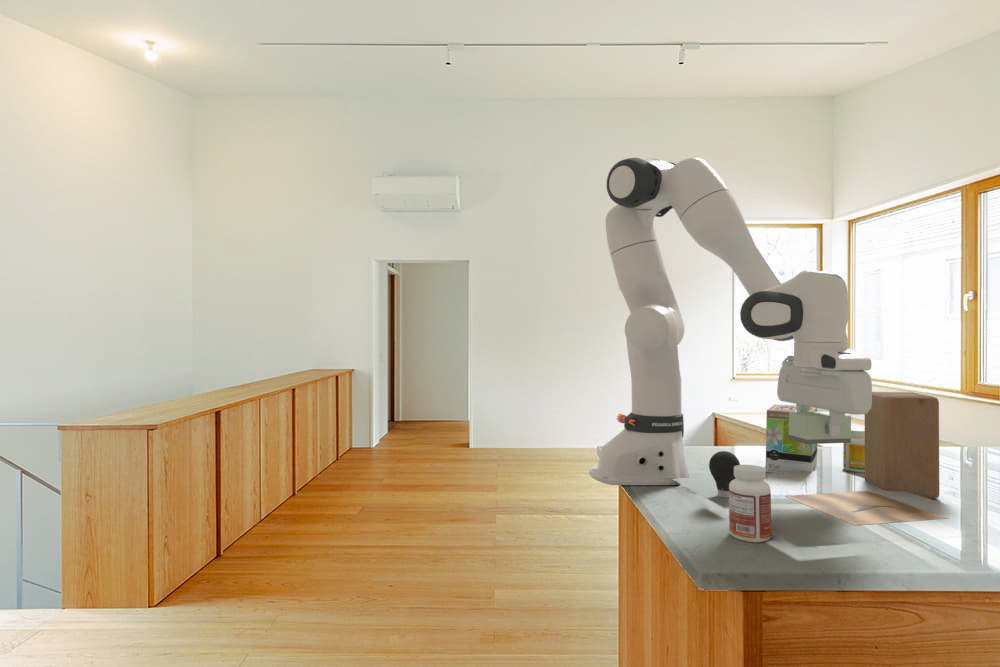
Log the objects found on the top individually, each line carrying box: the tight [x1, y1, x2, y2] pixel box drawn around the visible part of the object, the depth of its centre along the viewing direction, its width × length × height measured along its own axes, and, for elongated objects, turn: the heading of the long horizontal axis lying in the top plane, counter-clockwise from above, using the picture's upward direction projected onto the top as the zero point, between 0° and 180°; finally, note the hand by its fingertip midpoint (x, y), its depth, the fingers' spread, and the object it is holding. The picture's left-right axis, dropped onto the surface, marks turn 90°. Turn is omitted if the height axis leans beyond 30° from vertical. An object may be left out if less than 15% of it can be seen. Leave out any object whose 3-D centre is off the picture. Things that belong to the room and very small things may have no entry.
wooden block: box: [864, 391, 940, 500], centre depth 117 cm, size 10×10×20 cm
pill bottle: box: [728, 464, 772, 543], centre depth 92 cm, size 6×6×11 cm
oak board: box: [785, 490, 950, 526], centre depth 103 cm, size 18×17×2 cm
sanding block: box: [789, 411, 852, 445], centre depth 107 cm, size 9×5×5 cm, turn 100°
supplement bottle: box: [842, 427, 865, 474], centre depth 136 cm, size 5×5×10 cm
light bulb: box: [708, 450, 741, 499], centre depth 110 cm, size 6×6×10 cm
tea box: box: [765, 403, 818, 474], centre depth 137 cm, size 15×10×15 cm
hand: (819, 431), depth 107 cm, fingers closed on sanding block, 5 cm apart
